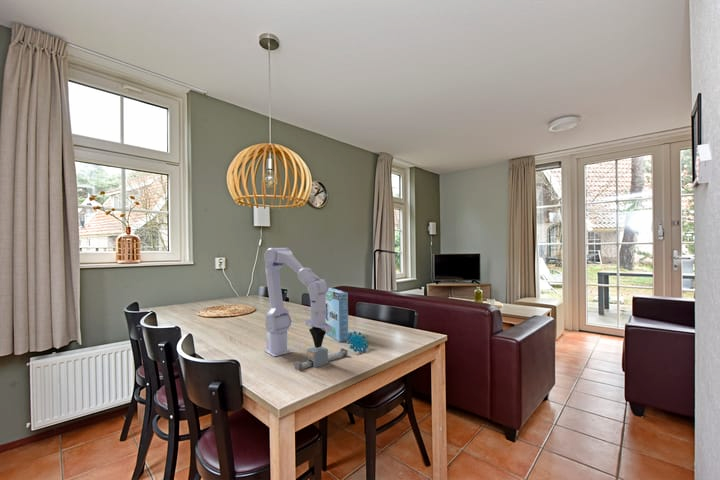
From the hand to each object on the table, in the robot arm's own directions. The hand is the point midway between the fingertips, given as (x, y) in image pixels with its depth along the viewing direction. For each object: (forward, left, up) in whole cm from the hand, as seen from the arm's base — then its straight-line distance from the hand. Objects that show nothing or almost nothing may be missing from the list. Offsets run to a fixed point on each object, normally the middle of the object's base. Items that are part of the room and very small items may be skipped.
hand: (318, 346), depth 121 cm
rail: (0, +2, -6) cm, 7 cm away
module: (0, 0, -6) cm, 6 cm away
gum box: (-24, +26, -6) cm, 36 cm away
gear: (-1, +21, -6) cm, 22 cm away
